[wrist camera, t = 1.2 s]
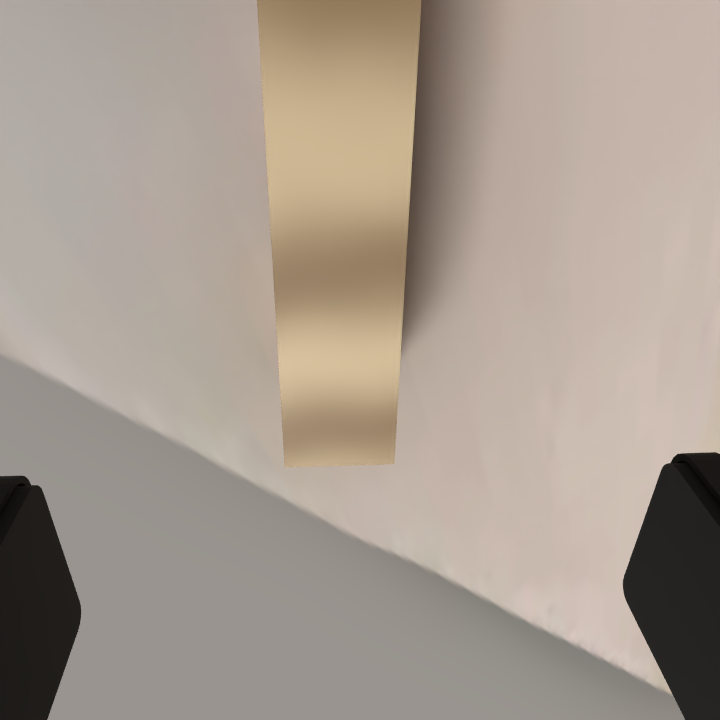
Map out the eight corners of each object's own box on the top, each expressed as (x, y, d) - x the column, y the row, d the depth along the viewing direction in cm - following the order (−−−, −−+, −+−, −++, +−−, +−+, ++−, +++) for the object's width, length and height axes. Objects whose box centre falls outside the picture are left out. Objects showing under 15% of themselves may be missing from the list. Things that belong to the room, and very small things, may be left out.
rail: (266, -85, 19) (251, -102, 14) (399, -82, 19) (427, -97, 15) (289, 383, 28) (284, 467, 23) (380, 381, 28) (394, 464, 23)
